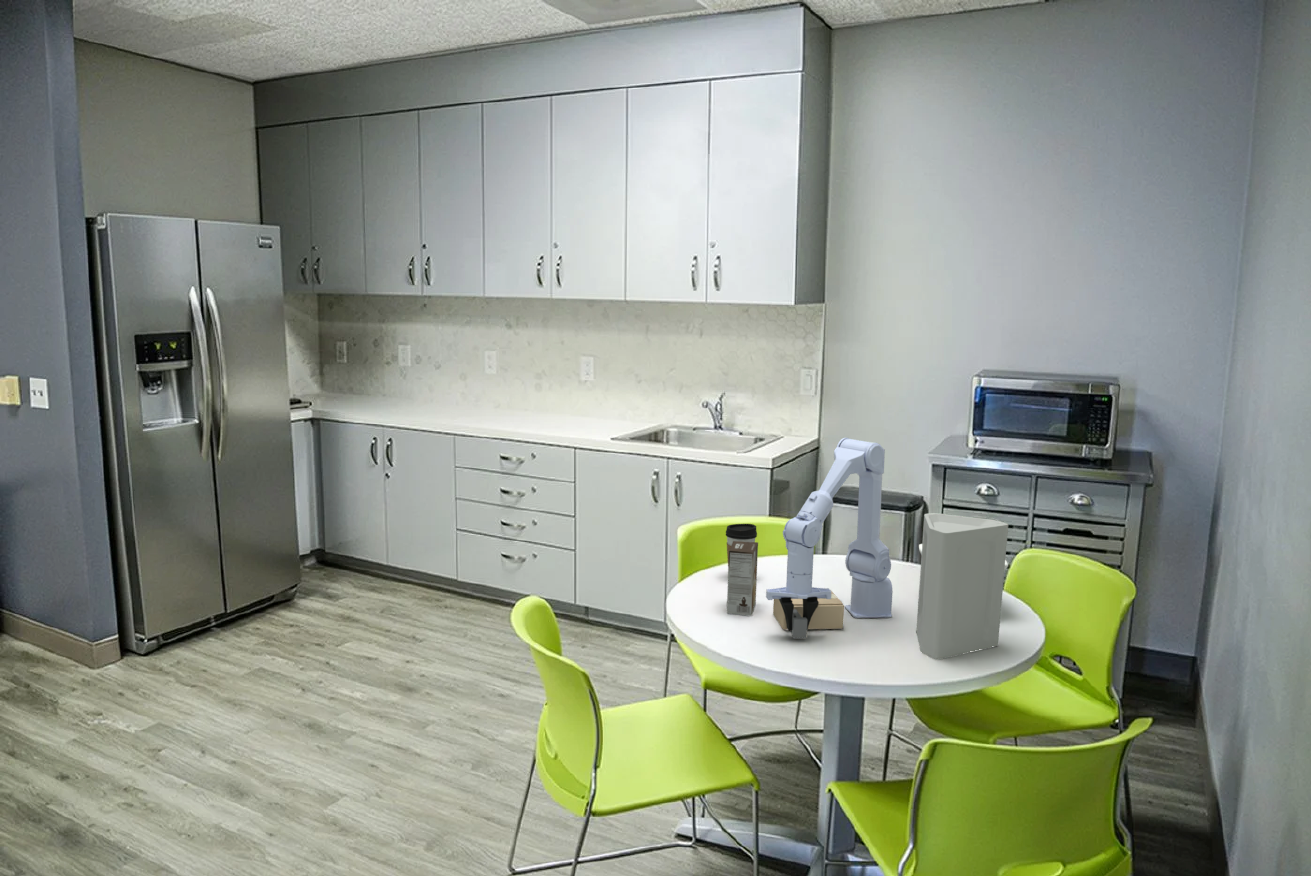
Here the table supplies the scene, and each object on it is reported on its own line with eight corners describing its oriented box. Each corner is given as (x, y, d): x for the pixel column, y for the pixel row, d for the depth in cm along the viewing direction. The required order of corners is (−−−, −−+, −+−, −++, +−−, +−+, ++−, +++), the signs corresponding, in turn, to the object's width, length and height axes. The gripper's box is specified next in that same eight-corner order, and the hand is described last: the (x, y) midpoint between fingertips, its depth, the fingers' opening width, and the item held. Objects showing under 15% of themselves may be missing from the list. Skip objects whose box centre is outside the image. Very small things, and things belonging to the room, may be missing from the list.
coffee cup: (756, 584, 247) (758, 530, 244) (724, 584, 247) (726, 529, 244) (753, 575, 255) (755, 522, 253) (723, 574, 255) (724, 521, 253)
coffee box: (730, 601, 233) (732, 539, 230) (756, 604, 232) (758, 541, 229) (726, 614, 224) (728, 549, 221) (752, 616, 223) (755, 552, 220)
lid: (842, 627, 216) (843, 604, 215) (852, 639, 209) (853, 616, 208) (783, 628, 214) (784, 605, 213) (791, 640, 207) (792, 617, 206)
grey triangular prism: (950, 624, 220) (959, 509, 216) (999, 645, 208) (1010, 524, 203) (888, 636, 212) (896, 517, 207) (935, 659, 199) (945, 533, 194)
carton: (829, 613, 226) (830, 589, 225) (841, 628, 216) (843, 603, 215) (773, 614, 225) (774, 589, 224) (782, 629, 215) (783, 603, 214)
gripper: (772, 577, 203) (769, 636, 205) (836, 576, 204) (833, 634, 207) (765, 567, 210) (762, 624, 212) (827, 566, 211) (824, 623, 214)
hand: (797, 629), depth 210 cm, fingers closed on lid, 3 cm apart
